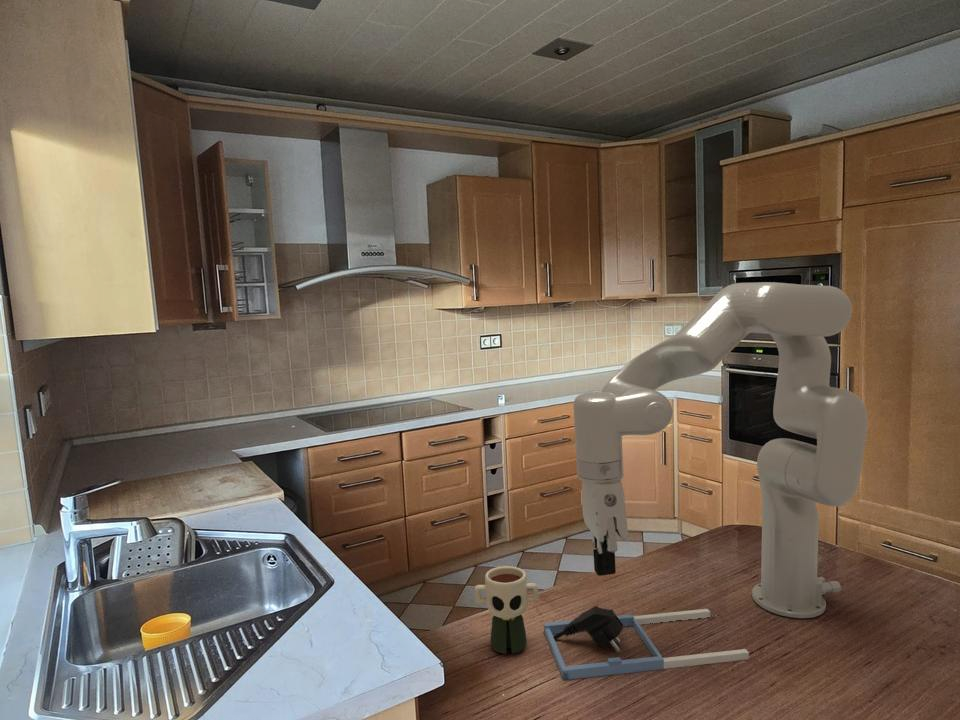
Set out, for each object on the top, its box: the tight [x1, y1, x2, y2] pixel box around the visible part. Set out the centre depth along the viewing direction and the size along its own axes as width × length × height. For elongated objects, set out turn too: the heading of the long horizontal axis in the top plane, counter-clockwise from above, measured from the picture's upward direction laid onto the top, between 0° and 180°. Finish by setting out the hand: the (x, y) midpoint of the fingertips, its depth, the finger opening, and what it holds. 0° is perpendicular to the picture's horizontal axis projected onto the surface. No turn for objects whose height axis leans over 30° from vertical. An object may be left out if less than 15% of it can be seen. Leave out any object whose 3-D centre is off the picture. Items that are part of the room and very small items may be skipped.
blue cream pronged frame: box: [543, 608, 750, 681], centre depth 106 cm, size 31×14×2 cm, turn 97°
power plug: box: [553, 606, 624, 653], centre depth 107 cm, size 6×8×12 cm
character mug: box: [474, 565, 539, 654], centre depth 106 cm, size 11×7×13 cm, turn 88°
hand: (605, 572), depth 104 cm, fingers closed
